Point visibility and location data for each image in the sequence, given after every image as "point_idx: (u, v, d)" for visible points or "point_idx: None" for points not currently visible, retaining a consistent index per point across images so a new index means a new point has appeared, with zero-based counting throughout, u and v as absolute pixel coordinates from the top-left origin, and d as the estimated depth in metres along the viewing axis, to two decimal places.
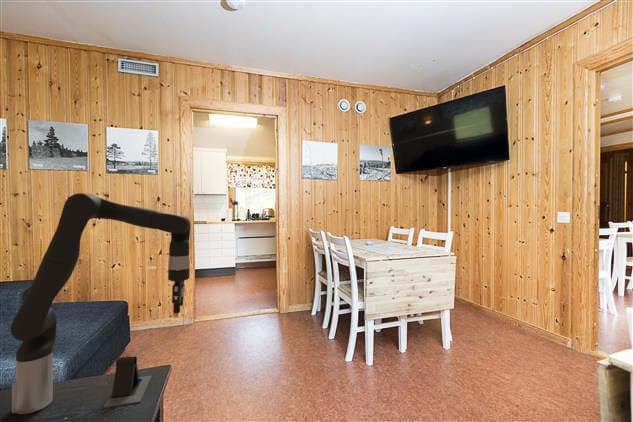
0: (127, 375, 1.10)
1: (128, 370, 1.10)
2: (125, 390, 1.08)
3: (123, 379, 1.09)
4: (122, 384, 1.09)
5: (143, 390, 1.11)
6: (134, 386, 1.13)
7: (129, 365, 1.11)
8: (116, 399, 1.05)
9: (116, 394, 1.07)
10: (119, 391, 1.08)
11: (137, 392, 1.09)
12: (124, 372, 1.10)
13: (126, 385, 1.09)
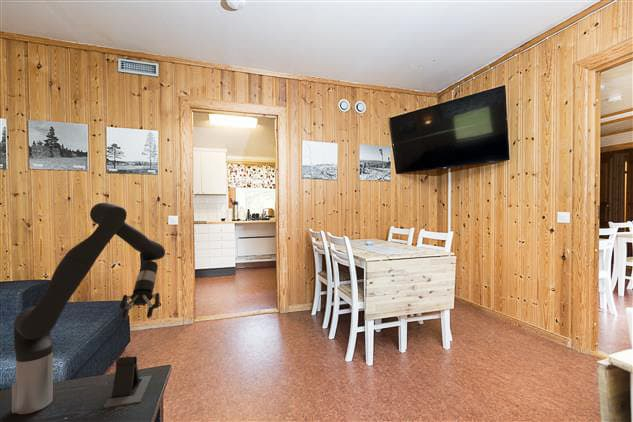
0: (127, 375, 1.10)
1: (128, 370, 1.10)
2: (125, 390, 1.08)
3: (123, 379, 1.09)
4: (122, 384, 1.09)
5: (143, 390, 1.11)
6: (134, 386, 1.13)
7: (129, 365, 1.11)
8: (116, 399, 1.05)
9: (116, 394, 1.07)
10: (119, 391, 1.08)
11: (137, 392, 1.09)
12: (124, 372, 1.10)
13: (126, 385, 1.09)
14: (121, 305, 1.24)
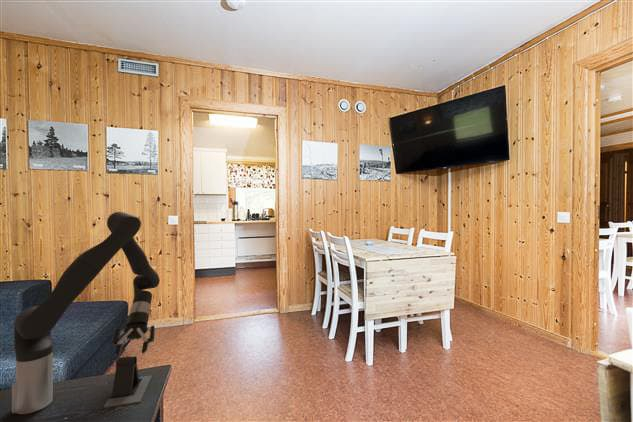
0: (127, 375, 1.10)
1: (128, 370, 1.10)
2: (125, 390, 1.08)
3: (123, 379, 1.09)
4: (122, 384, 1.09)
5: (143, 390, 1.11)
6: (134, 386, 1.13)
7: (129, 365, 1.11)
8: (116, 399, 1.05)
9: (116, 394, 1.07)
10: (119, 391, 1.08)
11: (137, 392, 1.09)
12: (124, 372, 1.10)
13: (126, 385, 1.09)
14: (114, 340, 1.18)
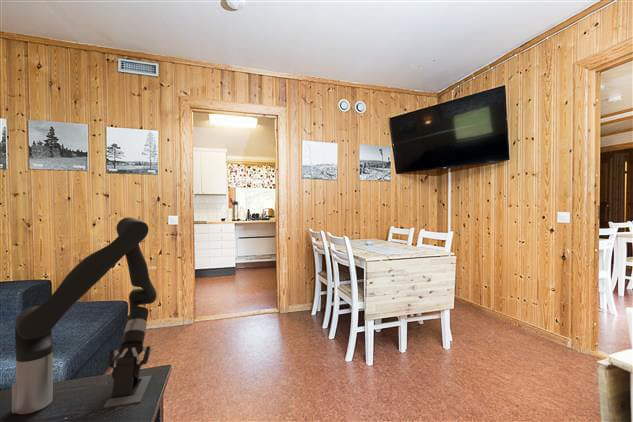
0: (127, 375, 1.10)
1: (128, 370, 1.10)
2: (125, 390, 1.08)
3: (123, 379, 1.09)
4: (122, 384, 1.09)
5: (143, 390, 1.11)
6: (134, 386, 1.13)
7: (129, 365, 1.11)
8: (116, 399, 1.05)
9: (116, 394, 1.07)
10: (119, 391, 1.08)
11: (137, 392, 1.09)
12: (124, 372, 1.10)
13: (126, 385, 1.09)
14: (110, 363, 1.11)
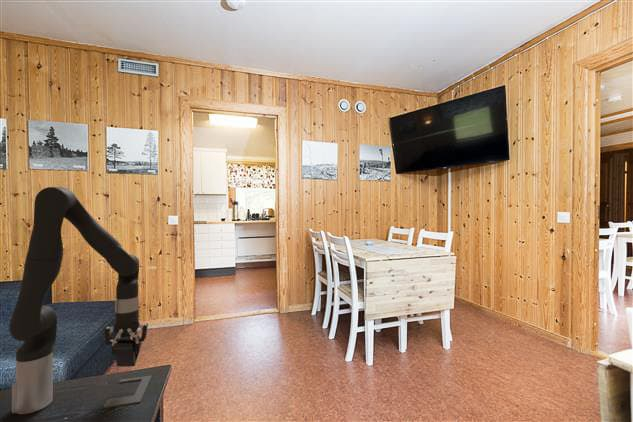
0: (128, 354, 1.11)
1: (128, 351, 1.10)
2: (129, 363, 1.13)
3: (125, 356, 1.11)
4: (125, 359, 1.12)
5: (143, 390, 1.11)
6: None
7: (128, 348, 1.10)
8: (116, 399, 1.05)
9: (121, 365, 1.13)
10: (123, 363, 1.13)
11: (137, 392, 1.09)
12: (124, 352, 1.10)
13: (129, 360, 1.12)
14: (107, 342, 1.09)
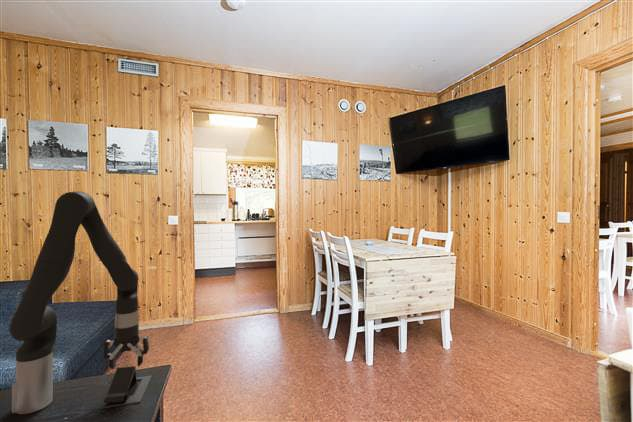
0: None
1: None
2: None
3: None
4: None
5: (143, 390, 1.11)
6: (133, 374, 1.13)
7: None
8: None
9: None
10: None
11: (137, 392, 1.09)
12: None
13: None
14: (105, 355, 1.09)
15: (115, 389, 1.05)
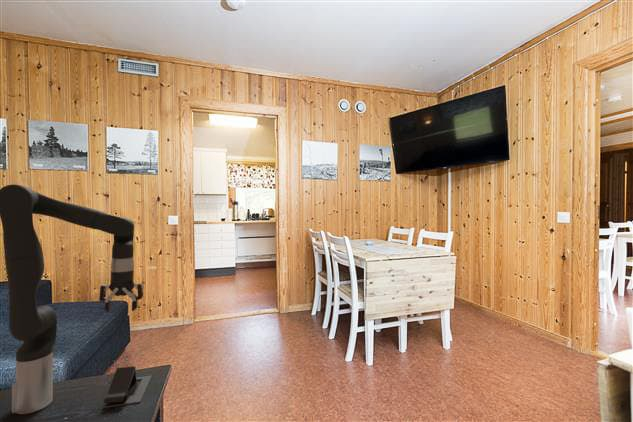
0: None
1: None
2: None
3: None
4: None
5: (143, 390, 1.11)
6: (133, 374, 1.13)
7: None
8: None
9: None
10: None
11: (137, 392, 1.09)
12: None
13: None
14: (101, 298, 1.13)
15: (115, 389, 1.05)
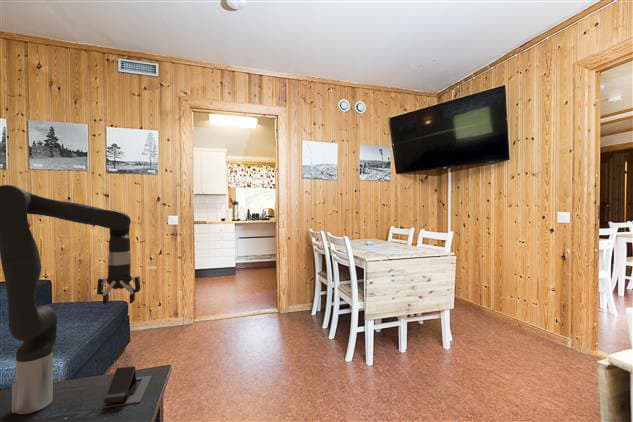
0: None
1: None
2: None
3: None
4: None
5: (143, 390, 1.11)
6: None
7: None
8: None
9: None
10: None
11: (137, 392, 1.09)
12: None
13: None
14: (98, 291, 1.15)
15: (115, 389, 1.05)
